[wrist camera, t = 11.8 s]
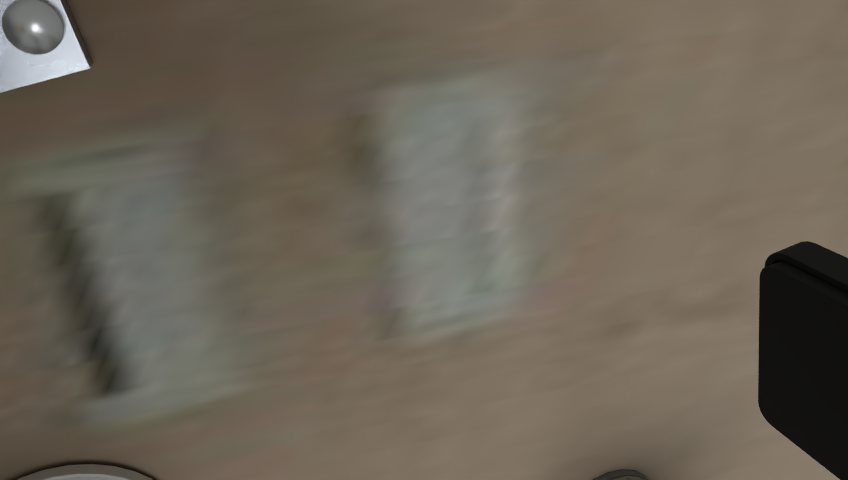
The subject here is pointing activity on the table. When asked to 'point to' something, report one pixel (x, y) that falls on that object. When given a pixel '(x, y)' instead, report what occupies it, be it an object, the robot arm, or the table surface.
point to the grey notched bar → (38, 42)
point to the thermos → (622, 475)
